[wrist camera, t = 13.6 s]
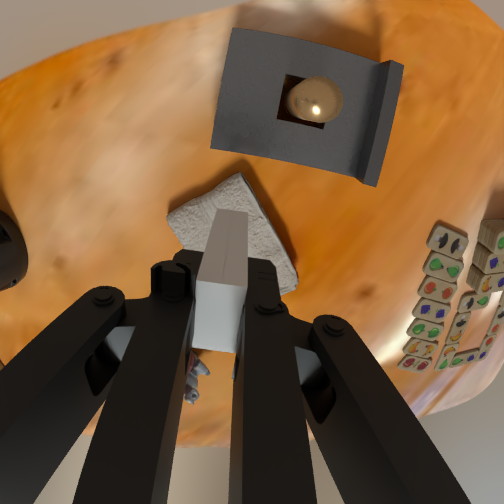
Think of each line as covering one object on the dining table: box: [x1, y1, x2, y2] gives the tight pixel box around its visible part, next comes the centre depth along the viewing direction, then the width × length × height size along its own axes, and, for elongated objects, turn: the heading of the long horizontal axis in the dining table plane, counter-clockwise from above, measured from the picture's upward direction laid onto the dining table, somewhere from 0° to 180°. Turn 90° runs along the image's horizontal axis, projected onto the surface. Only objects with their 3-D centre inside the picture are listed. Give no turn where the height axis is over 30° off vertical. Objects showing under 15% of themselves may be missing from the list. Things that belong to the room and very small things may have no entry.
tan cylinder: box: [283, 76, 343, 123], centre depth 27 cm, size 4×4×12 cm
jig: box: [210, 28, 404, 187], centre depth 30 cm, size 18×14×7 cm
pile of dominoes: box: [397, 219, 504, 373], centre depth 44 cm, size 35×27×6 cm
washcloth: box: [167, 172, 299, 296], centre depth 40 cm, size 12×18×3 cm, turn 29°
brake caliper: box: [183, 350, 210, 404], centre depth 48 cm, size 11×11×12 cm
